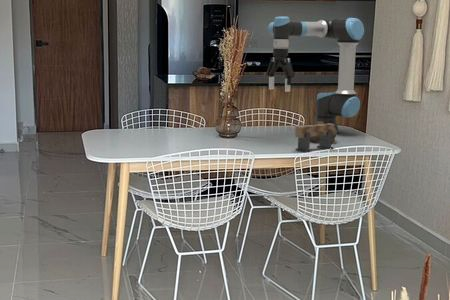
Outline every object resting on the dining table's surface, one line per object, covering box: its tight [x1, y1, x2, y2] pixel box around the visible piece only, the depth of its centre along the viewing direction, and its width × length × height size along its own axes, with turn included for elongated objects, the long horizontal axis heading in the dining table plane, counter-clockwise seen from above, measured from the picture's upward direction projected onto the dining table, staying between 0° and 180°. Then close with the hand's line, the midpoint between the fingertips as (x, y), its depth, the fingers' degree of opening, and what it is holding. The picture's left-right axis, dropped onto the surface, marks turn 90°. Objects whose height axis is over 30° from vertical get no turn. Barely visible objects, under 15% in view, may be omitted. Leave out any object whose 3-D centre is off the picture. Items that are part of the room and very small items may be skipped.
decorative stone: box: [310, 121, 338, 144], centre depth 313 cm, size 16×11×15 cm
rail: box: [294, 123, 335, 138], centre depth 289 cm, size 22×4×5 cm, turn 123°
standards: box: [294, 131, 334, 153], centre depth 290 cm, size 18×7×9 cm, turn 123°
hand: (279, 90), depth 301 cm, fingers open, 13 cm apart
